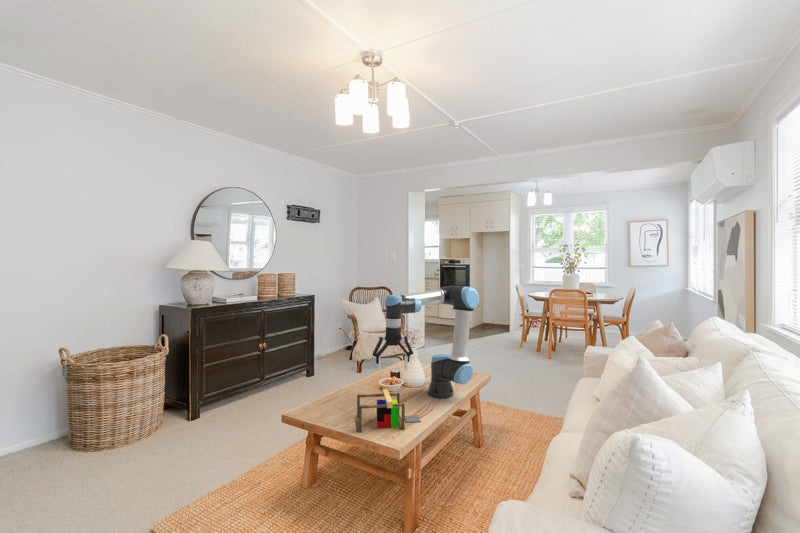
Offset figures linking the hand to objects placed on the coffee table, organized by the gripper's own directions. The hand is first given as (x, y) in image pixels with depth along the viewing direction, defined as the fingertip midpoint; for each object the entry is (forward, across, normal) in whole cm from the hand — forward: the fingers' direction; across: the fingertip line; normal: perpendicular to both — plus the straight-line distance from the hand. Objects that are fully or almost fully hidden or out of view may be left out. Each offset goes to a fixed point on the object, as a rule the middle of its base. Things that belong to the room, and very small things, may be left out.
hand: (392, 369), depth 188 cm
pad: (+25, -10, +2) cm, 27 cm away
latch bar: (+14, +3, +3) cm, 15 cm away
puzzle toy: (+26, +3, +3) cm, 26 cm away
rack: (+25, +6, +3) cm, 26 cm away
